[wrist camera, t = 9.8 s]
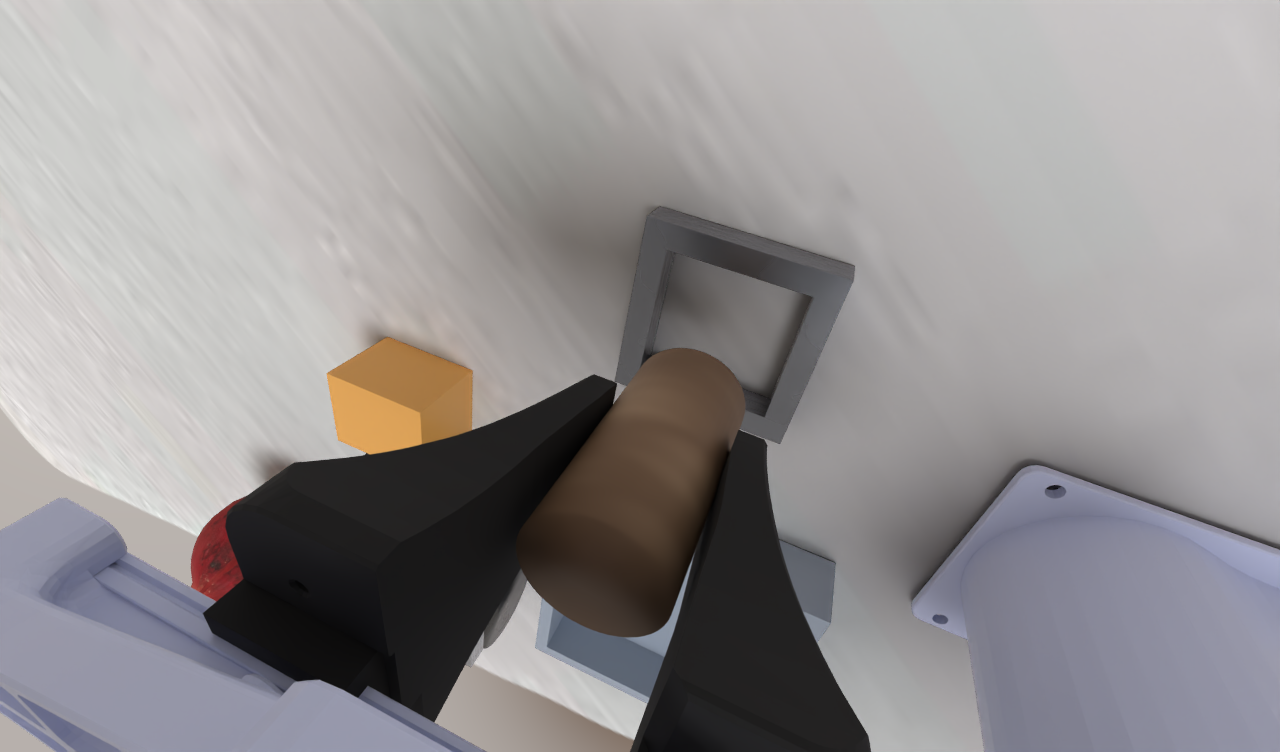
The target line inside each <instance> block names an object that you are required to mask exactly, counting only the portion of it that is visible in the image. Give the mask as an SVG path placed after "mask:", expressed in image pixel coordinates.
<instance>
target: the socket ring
mask: <svg viewBox="0 0 1280 752" xmlns="http://www.w3.org/2000/svg"><path fill="white" fill-rule="evenodd" d="M675 253H679V254H682V255H685V256H688V257H691V258H694V259H697V260H700V261H703V262H706V263H710V264H713V265H716V266H719V267H722V268H725V269H728V270H731V271H734V272H737V273H740V274H744V275H747V276H750V277H753V278H756V279H759V280H762V281H765V282H768V283H771V284H774V285H778V286H781V287H784V288H787V289H790V290H793V291H796V292H799V293H802V294H805V295H809V296H812V298H811V300H810V303H809V305H808V308H807V310H806V312H805V315H804V317H803V320H802V322H801V325H800V327H799V330H798V332H797V334H796V337H795V339H794V342H793V344H792V347H791V349H790V352H789V354H788V356H787V359H786V361H785V364H784V366H783V369H782V371H781V374H780V376H779V378H778V381H777V383H776V386H775V388H774V391H773V393H772V396H771V398H767V397H765V396H762V395H759V394H756V393H754V392H751V391H748V390H745V389H743V388H742V390H743V393H744V397H745V415H744V418H743V421H742V424H741V427H740V429H742V430H744V431H747V432H749V433H752V434H755V435H757V436H760V437H763V438H765V439H768V440H770V441H773V442H776V443H778V444H780V443H781V441H782V439H783V436H784V434H785V432H786V430H787V427H788V425H789V423H790V421H791V419H792V416H793V414H794V412H795V410H796V407H797V405H798V403H799V401H800V399H801V396H802V394H803V392H804V390H805V387H806V385H807V383H808V381H809V379H810V376H811V374H812V372H813V370H814V367H815V365H816V363H817V361H818V358H819V356H820V354H821V352H822V350H823V347H824V345H825V343H826V341H827V338H828V336H829V334H830V332H831V330H832V327H833V325H834V323H835V321H836V318H837V316H838V314H839V312H840V310H841V307H842V305H843V303H844V301H845V298H846V296H847V294H848V292H849V290H850V287H851V285H852V283H853V280H854V271H855V266H853V265H849V264H846V263H843V262H840V261H836V260H833V259H830V258H827V257H823V256H820V255H817V254H814V253H810V252H807V251H804V250H801V249H797V248H794V247H791V246H788V245H784V244H781V243H778V242H775V241H771V240H768V239H765V238H762V237H758V236H755V235H752V234H749V233H745V232H742V231H739V230H736V229H732V228H729V227H726V226H723V225H719V224H716V223H713V222H710V221H706V220H703V219H700V218H697V217H693V216H690V215H687V214H684V213H680V212H677V211H674V210H671V209H667V208H664V207H661V206H660V207H659V208H657V209H656V210H655V211H653V212H652V213H651V214H649V215H648V216H647V219H646V225H645V230H644V235H643V240H642V245H641V250H640V255H639V260H638V265H637V270H636V275H635V281H634V286H633V291H632V296H631V301H630V306H629V311H628V316H627V321H626V326H625V332H624V337H623V342H622V347H621V352H620V357H619V362H618V367H617V372H616V377H615V382H618V383H620V384H623V385H626V386H627V385H628V384H629V383H630V381H631V380H632V379H633V377H634V376H635V375H636V373H637V372H638V371H639V369H640V368H641V367H642V365H643V364H644V363H645V362H646V361H647V360H648V359H649V358H650V357H652V355H651V353H652V348H653V344H654V340H655V336H656V331H657V327H658V323H659V319H660V314H661V310H662V306H663V302H664V297H665V293H666V289H667V285H668V280H669V276H670V272H671V268H672V263H673V259H674V255H675Z"/></svg>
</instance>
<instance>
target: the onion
mask: <svg viewBox="0 0 1280 752" xmlns="http://www.w3.org/2000/svg"><path fill="white" fill-rule="evenodd" d="M243 498H245V497H243ZM243 498H241V499H239V500H236V501H234V502H232V503H231V504H230V505H228V506H227V507H226V508H224V509H223V510H222V511H220V512H219V513H218V514H216V515H215V516H214V517H213V518H212V519H211V520H210V521H209V522H208V523H207V524H206V525H205V527H204V528H203V530H202V531H201V533H200V535H199V536H198V538H197V541H196V543H195V546H194V549H193V553H192V559H191V574H192V581H193V583H192V586H191V588H193V589H195V590H197V591H198V592H200V593H202V594H204V595H206V596H207V597H209V598H211V599H213V600H215V601H216V602H217V601H218V600H219V599H220V598H221V597H223V596H224V595H225V594H226V593H227V592H229V591H230V590H231V589H232V588H233V587H234V586H236V585H237V584H238V583H239V582H240V581H242V580H243V579H244V578H243V575H242V573H241V570H240V568H239V565H238V563H237V560H236V557H235V555H234V552H233V550H232V547H231V544H230V542H229V539H228V536H227V532H226V528H225V524H226V517H227V512H228V511H229V510H230V509H231V508H232V507H233V506H234V505H235V504H236V503H238V502H239V501H241V500H242V499H243Z"/></svg>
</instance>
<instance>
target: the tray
mask: <svg viewBox="0 0 1280 752" xmlns="http://www.w3.org/2000/svg"><path fill="white" fill-rule="evenodd" d="M779 542H780V546H781V549H782V553H783V556H784V560H785V563H786V566H787V569H788V572H789V575H790V578H791V581H792V584H793V587H794V590H795V592H796V595H797V598H798V600H799V603H800V606H801V608H802V611H803V613H804V615H805V617H806V620H807V622H808V624H809V626H810V629H811V631H812V633H813V635H814V637H815V640H816V642H818V641H819V639H820V638H821V637H822V635H823V634H824V632H825V631H826V629H827V628H828V627H829V625H830V624H831V615H832V602H833V590H834V578H835V565H836V563H834V562H831V561H829V560H827V559H824V558H822V557H819V556H817V555H814V554H812V553H810V552H807V551H805V550H802V549H800V548H798V547H795V546H793V545H790V544H788V543H785V542H783V541H781V540H779ZM695 550H696V549H695ZM694 554H695V552H694ZM693 557H694V555H693ZM692 561H693V558H692V560H691V563H690V566H689V568H688V571H687V574H686V577H685V579H684V582H683V585H682V588H681V590H680V593H679V596H678V598H677V601H676V604H675V607H674V609H673V612H672V615H671V617H670V619H669V621H668V622H667V623H666V624H665V626H664V627H662V628H661V629H660V630H658V631H656V632H654V633H652V634H650V635H646V636H642V637H628V638H627V637H617V636H611V635H607V634H603V633H599V632H597V631H594V630H591V629H589V628H586V627H584V626H582V625H580V624H578V623H576V622H574V621H572V620H570V619H569V618H567V617H566V616H564V615H562V614H561V613H560V612H558V611H557V610H556V609H554V608H553V607H552V606H551V605H549V604H548V603H547V602H546V601H545V600H544V599H543V598H542V603H541V610H540V617H539V624H538V631H537V638H536V645H535V648H536V649H538V650H540V651H542V652H544V653H546V654H548V655H550V656H552V657H554V658H556V659H558V660H560V661H562V662H564V663H566V664H568V665H570V666H572V667H574V668H576V669H578V670H580V671H582V672H585V673H587V674H589V675H591V676H593V677H595V678H597V679H599V680H601V681H603V682H605V683H607V684H609V685H611V686H613V687H615V688H617V689H619V690H621V691H623V692H625V693H627V694H629V695H631V696H633V697H635V698H637V699H639V700H641V701H643V702H645V703H647V704H648V701H649V699H650V696H651V693H652V690H653V687H654V685H655V682H656V679H657V676H658V674H659V671H660V668H661V665H662V662H663V660H664V657H665V654H666V651H667V649H668V646H669V643H670V640H671V637H672V635H673V632H674V629H675V625H676V622H677V619H678V615H679V612H680V608H681V604H682V600H683V596H684V592H685V589H686V585H687V581H688V577H689V573H690V569H691V565H692Z"/></svg>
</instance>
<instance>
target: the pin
mask: <svg viewBox="0 0 1280 752" xmlns="http://www.w3.org/2000/svg"><path fill="white" fill-rule="evenodd" d="M744 415H745V397H744V393H743V390H742V387H741V385H740V383H739V381H738V380H737V378H736V377H735V375H734V374H733V373H732V372H731V371H730V369H729V368H727V367H726V366H725V365H724V364H723V363H722V362H720V361H719V360H718V359H716V358H714V357H712V356H711V355H708V354H706V353H704V352H701V351H698V350H694V349H688V348H673V349H668V350H664V351H661V352H659V353H657V354H655V355H653V356H652V357H650V358H649V359H648V360H647V361H646V362H645V363H644V364H643V365H642V367H641V368H640V369H639V371H638V372H637V373H636V375H635V376H634V377H633V379H632V380H631V381H630V383H629V384H628V385H627V387H626V388H625V389H624V391H623V392H622V393H621V395H620V396H619V397H618V399H617V400H616V401H615V403H614V404H613V405H612V407H611V408H610V409H609V411H608V412H607V414H606V415H605V416H604V418H603V419H602V420H601V422H600V423H599V424H598V426H597V427H596V428H595V430H594V431H593V432H592V434H591V435H590V436H589V438H588V439H587V440H586V442H585V443H584V444H583V446H582V447H581V448H580V450H579V451H578V452H577V454H576V455H575V457H574V458H573V459H572V461H571V462H570V463H569V465H568V466H567V467H566V469H565V470H564V471H563V473H562V474H561V475H560V477H559V478H558V479H557V481H556V482H555V483H554V485H553V486H552V487H551V489H550V490H549V491H548V493H547V494H546V495H545V497H544V498H543V500H542V501H541V502H540V504H539V505H538V506H537V508H536V509H535V510H534V512H533V513H532V514H531V516H530V517H529V518H528V520H527V521H526V522H525V524H524V525H523V526H522V528H521V529H520V531H519V533H518V536H517V541H516V553H517V558H518V561H519V565H520V567H521V569H522V571H523V573H524V575H525V577H526V578H527V580H528V581H529V583H530V584H531V586H532V587H533V588H534V589H535V591H536V592H537V593H538V594H539V595H540V596H541V597H542V598H543V599H544V600H545V601H546V602H547V603H548V604H549V605H551V606H552V607H553V608H554V609H556V610H557V611H558V612H560V613H561V614H562V615H564V616H566V617H567V618H569V619H570V620H572V621H574V622H576V623H578V624H580V625H582V626H584V627H586V628H589V629H591V630H594V631H597V632H599V633H603V634H607V635H611V636H617V637H627V638H628V637H642V636H646V635H650V634H652V633H654V632H656V631H658V630H660V629H661V628H662V627H664V626H665V624H666V623H667V622H668V621H669V619H670V617H671V615H672V612H673V609H674V607H675V604H676V601H677V598H678V596H679V593H680V590H681V588H682V585H683V582H684V579H685V577H686V574H687V571H688V568H689V566H690V563H691V560H692V558H693V555H694V552H695V549H696V547H697V544H698V541H699V538H700V536H701V533H702V530H703V528H704V525H705V522H706V519H707V517H708V514H709V511H710V509H711V506H712V503H713V500H714V497H715V494H716V491H717V487H718V483H719V480H720V477H721V475H722V472H723V469H724V467H725V464H726V461H727V459H728V456H729V453H730V450H731V448H732V445H733V443H734V440H735V437H736V435H737V432H738V430H740V427H741V424H742V421H743V418H744Z"/></svg>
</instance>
